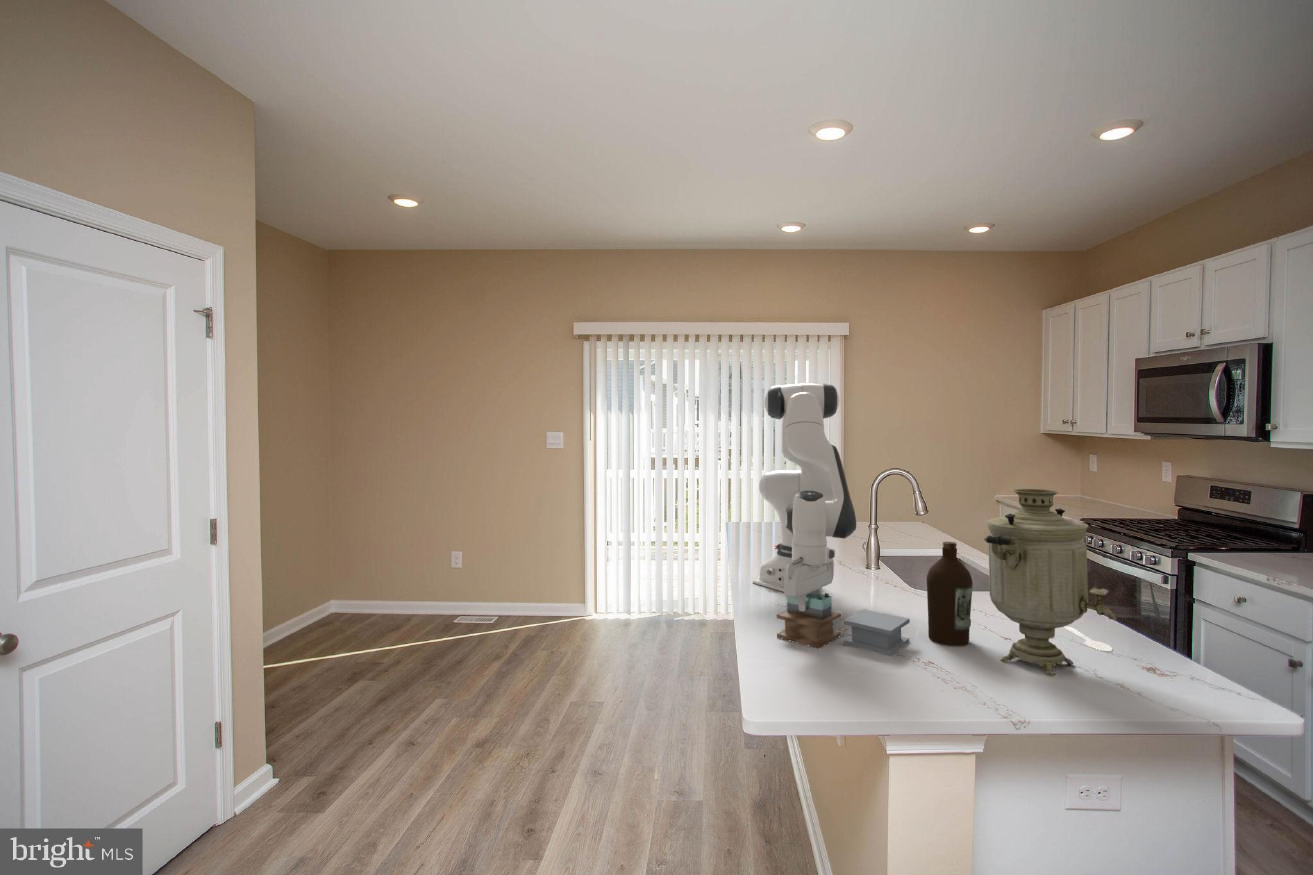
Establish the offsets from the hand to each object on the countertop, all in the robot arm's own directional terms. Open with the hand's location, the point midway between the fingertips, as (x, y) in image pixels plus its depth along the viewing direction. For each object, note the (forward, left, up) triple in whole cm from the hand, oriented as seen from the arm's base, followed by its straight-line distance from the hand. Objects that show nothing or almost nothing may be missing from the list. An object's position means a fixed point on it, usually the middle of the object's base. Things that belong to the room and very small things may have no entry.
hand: (809, 607), depth 164 cm
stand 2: (+15, +7, -8) cm, 18 cm away
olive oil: (+28, +21, -8) cm, 36 cm away
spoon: (+54, +45, -8) cm, 71 cm away
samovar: (+50, +17, -8) cm, 53 cm away
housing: (0, 0, -2) cm, 2 cm away
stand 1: (0, 0, -8) cm, 8 cm away
